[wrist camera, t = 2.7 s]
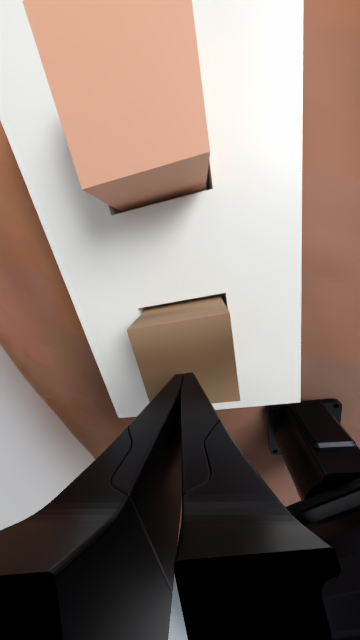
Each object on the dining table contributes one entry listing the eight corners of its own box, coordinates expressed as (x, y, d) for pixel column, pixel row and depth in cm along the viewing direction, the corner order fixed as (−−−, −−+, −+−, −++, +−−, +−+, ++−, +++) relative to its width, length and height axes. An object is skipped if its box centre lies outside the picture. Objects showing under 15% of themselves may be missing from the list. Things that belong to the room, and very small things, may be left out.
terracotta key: (205, 190, 10) (210, 151, 6) (121, 212, 11) (81, 189, 7) (188, 68, 9) (182, -78, 5) (92, 103, 9) (22, 1, 6)
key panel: (277, 369, 17) (300, 402, 13) (134, 385, 19) (118, 418, 15) (262, 1, 10) (304, -160, 6) (35, 92, 12) (-41, 15, 8)
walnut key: (228, 360, 14) (240, 400, 10) (163, 368, 14) (151, 408, 11) (219, 295, 12) (229, 312, 8) (147, 307, 13) (126, 329, 9)
